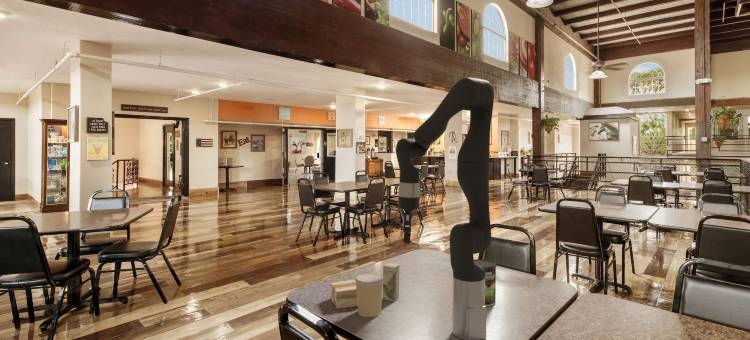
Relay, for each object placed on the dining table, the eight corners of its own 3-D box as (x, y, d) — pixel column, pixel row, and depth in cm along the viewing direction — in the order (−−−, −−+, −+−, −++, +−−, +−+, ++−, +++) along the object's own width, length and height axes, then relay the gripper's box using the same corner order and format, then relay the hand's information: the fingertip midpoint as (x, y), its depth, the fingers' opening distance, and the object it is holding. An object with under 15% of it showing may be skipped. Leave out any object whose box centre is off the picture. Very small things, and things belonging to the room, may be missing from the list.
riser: (364, 304, 135) (364, 288, 135) (336, 308, 132) (336, 291, 132) (356, 294, 144) (356, 279, 144) (330, 298, 141) (330, 282, 141)
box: (382, 299, 140) (381, 265, 139) (387, 295, 144) (387, 262, 143) (395, 302, 137) (395, 267, 137) (400, 298, 141) (399, 264, 141)
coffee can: (501, 305, 134) (502, 265, 133) (475, 308, 131) (476, 268, 131) (485, 294, 144) (486, 258, 143) (461, 297, 141) (461, 260, 141)
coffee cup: (367, 304, 135) (367, 271, 135) (388, 311, 129) (388, 276, 129) (350, 313, 128) (349, 278, 127) (371, 321, 122) (371, 284, 121)
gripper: (419, 198, 126) (417, 246, 128) (419, 192, 141) (418, 235, 142) (397, 197, 127) (395, 244, 129) (399, 191, 141) (398, 234, 143)
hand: (407, 240), depth 135 cm, fingers open, 8 cm apart
